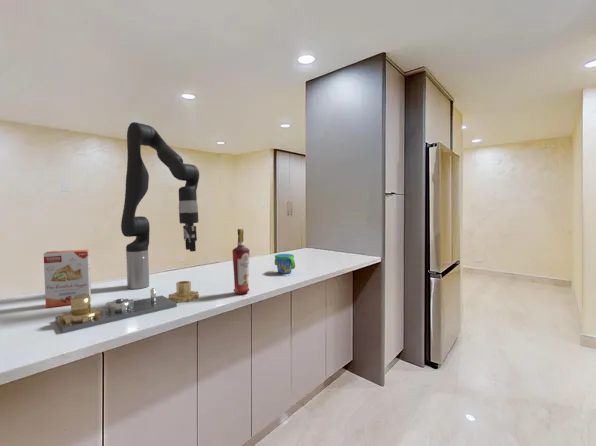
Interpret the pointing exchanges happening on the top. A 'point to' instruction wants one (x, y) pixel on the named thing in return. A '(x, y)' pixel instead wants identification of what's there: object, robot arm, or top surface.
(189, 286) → the gear
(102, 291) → the top surface
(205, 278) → the top surface
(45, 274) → the cracker box
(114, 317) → the carrier plate
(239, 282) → the liquor
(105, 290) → the top surface
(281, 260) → the snack cup
